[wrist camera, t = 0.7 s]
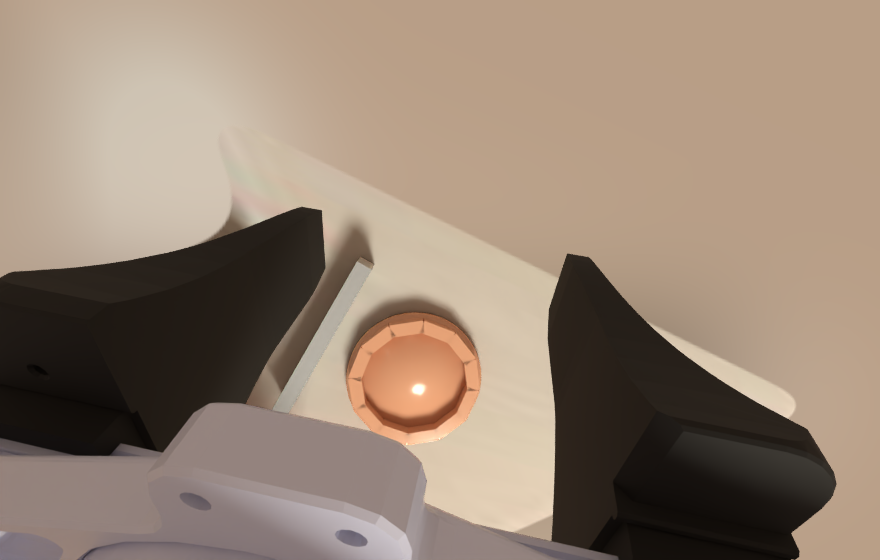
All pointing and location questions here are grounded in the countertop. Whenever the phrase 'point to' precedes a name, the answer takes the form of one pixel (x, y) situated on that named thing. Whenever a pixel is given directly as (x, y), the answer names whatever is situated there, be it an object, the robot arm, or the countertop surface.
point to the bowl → (413, 377)
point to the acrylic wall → (323, 335)
